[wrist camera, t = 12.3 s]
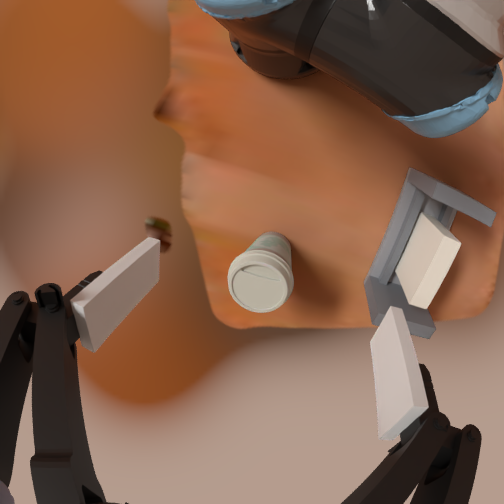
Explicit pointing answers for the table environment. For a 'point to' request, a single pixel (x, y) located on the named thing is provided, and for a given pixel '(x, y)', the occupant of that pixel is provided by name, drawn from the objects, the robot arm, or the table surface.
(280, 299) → the coffee cup
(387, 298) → the track
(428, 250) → the block
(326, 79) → the table surface
